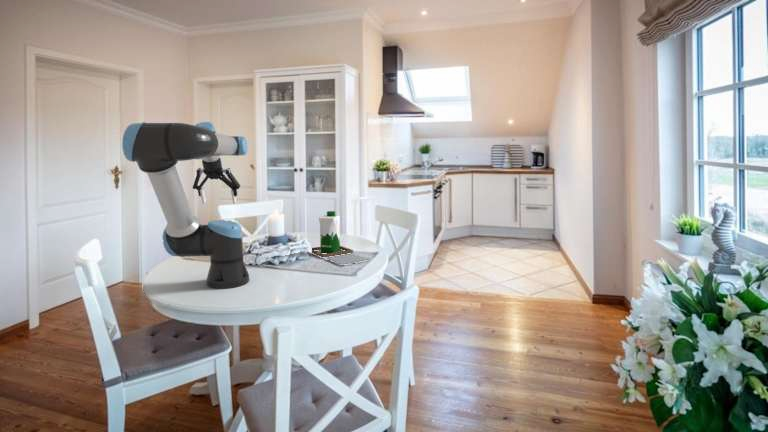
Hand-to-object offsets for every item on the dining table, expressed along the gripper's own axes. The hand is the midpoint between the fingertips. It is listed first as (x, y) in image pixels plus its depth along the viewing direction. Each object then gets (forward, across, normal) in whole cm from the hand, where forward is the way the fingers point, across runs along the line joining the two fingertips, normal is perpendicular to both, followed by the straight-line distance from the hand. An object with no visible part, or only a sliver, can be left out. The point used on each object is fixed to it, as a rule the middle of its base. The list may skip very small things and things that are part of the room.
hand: (219, 202), depth 199 cm
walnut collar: (+27, -49, +2) cm, 56 cm away
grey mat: (+22, -58, +15) cm, 63 cm away
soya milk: (+27, -49, +2) cm, 56 cm away
